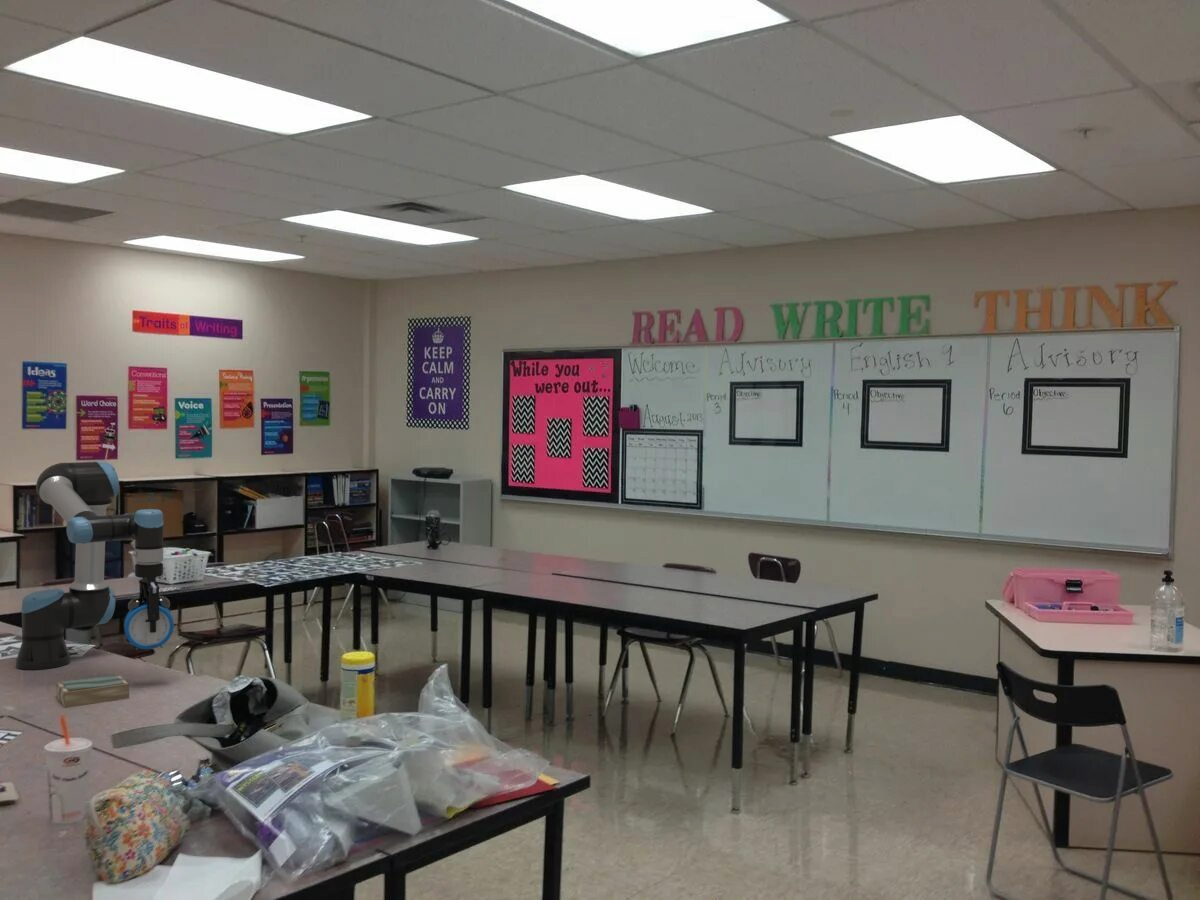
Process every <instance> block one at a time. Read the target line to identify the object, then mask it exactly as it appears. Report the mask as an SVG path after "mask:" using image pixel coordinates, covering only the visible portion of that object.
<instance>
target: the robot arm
mask: <svg viewBox="0 0 1200 900" xmlns="http://www.w3.org/2000/svg"><path fill="white" fill-rule="evenodd" d="M35 483H36V484H35V485H36V487H35V489H36V493H37V495H38V497H39V498H40V499H41V500H42V501H43V502H44V503H45V504H47V505H51V507H52V508H54V510H55V511H56V512H57V513H58V514H59V515H60V517H61V518H62V520H63V521H65V523H66V536H67V538H68V541H69V542H70V543H72V544H75V558H74V561H75V563H74V581H73V582H72V583H70V584H69V587H68V589H69V590H68V592H65V591H64V590H63V589H62V588H52V589H50V588H49V589H43V590H39V591H35V592H31V593H29V594H27V595H25V596H24V597H23V598H22V600H21V601H22V602H21V609H20V612H21V637H22V638H21V639H22V640H21V645H20V648H19V650H18V653H17V656H16V661H15V667H16V669H20V670H33V671H34V670H43V669H44V670H45V669H52V668H53V669H54V668H58V667H61V666H62V667H63V666H65V665H68V664H70V662H71V654H70V652H69V651H70V650H69V649H68V647H67V644H66V641H65V639H64V636H65V635H64V633H65V632H64V631H65V630H66V629H74V628H83V627H91V626H92V627H94V626H97V625H103V624H106V623H108V622H109V621H110V620H111V619H112V618H113V616H114V612H115V610H116V609H115V608H116V598H115V597H116V594H115V592H114V590H113V589H112V588H110V587H109V586H110V585H109V583H108V582H107V581H106V580H105V558H106V556H105V555H106V542H113V541H114V542H115V541H127V540H129V541H131V540H134V552H132V555H133V556H135V557H134V560H135V561H134V562H135V565H134V576H135V577H137V578H139V579H140V578H141V579H140V580H139V581H138V585H139V586H138V587H139V597H140V598H143V599H144V600H145V602H147V613H148V620H145V622H147V644H153V643H157V621H158V620H159V619H160V617H159V596H160V595H159V594H160V586H159V583H158V582H157V579H156V578H158V577H162V576H163V575H164V563H163V561H164V524H165V523H164V513H163V511H162V510H161V509H153V508H149V509H147V508H146V509H145V508H144V509H139V510H136V511H135V512H128V513H124V514H113V515H107V508H108V507H109V506H111V505H112V502H113V501H112V498H113V499H114V498H115V497H117V496H118V495H119V492H120V481H119V477H118V473H117V471H116V468H115V467H114V466H113V464H112V463H109V462H108V461H107V462H106V461H105V462H104V461H86V462H85V461H83V462H82V461H80V462H59V463H54V464H52V465H50V466H49V467H47V468H45V469H44V470H43V471H42V472H41V473H40V474H39V476H38V478H37V480H36V482H35Z"/></svg>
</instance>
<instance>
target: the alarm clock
mask: <svg viewBox="0 0 1200 900" xmlns="http://www.w3.org/2000/svg"><path fill="white" fill-rule="evenodd" d="M170 606H171V601H170V600H169V599H168V598H167V597H166V596H163V595H159V617H160V619H159V620H158V621H157V643H153V644H147V622H145V620H148V613H147V602H145V600H144V599H143V598H140V597H134V598H131V600H130V601H128V603H127V609H128V612H127V613H126V616H125V618H124V625H123V627H124V635H125V636H126V639H127V640H128V642H129V643H130V644H132V646H134V647H136V649H135V650H136V651H138V649H143V650H153V649H157V648H161V649H163V645H164V644H166V643H167V642H168V640H170V638H171V637H172V635H173V632H174V627H175V623H174V622H175V621H174V619H173V615H172V613H171V611H170V610H169V608H170Z"/></svg>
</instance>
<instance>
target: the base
mask: <svg viewBox="0 0 1200 900" xmlns="http://www.w3.org/2000/svg"><path fill="white" fill-rule="evenodd" d="M56 698H57V699H58V700H59V702H60V703H61V705H63V707H64V708H70V707H71V708H72V707H79V706H85V705H92V704H100V703H105V702H106V701H107V702H114V701H120V700H119V699H121V700H127V699H130V684H129V683H128V682H127V681H126V680H125V679H124V678H123V677H122V676H121V675H120V674H119V673H118V674H109V675H101V676H100V675H99V676H94V677H93V676H92V677H87V678H85V677H84V678H79V679H71V680H70V679H69V680H63V681H57V682H56ZM126 698H127V699H126ZM113 700H114V701H113Z"/></svg>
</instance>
